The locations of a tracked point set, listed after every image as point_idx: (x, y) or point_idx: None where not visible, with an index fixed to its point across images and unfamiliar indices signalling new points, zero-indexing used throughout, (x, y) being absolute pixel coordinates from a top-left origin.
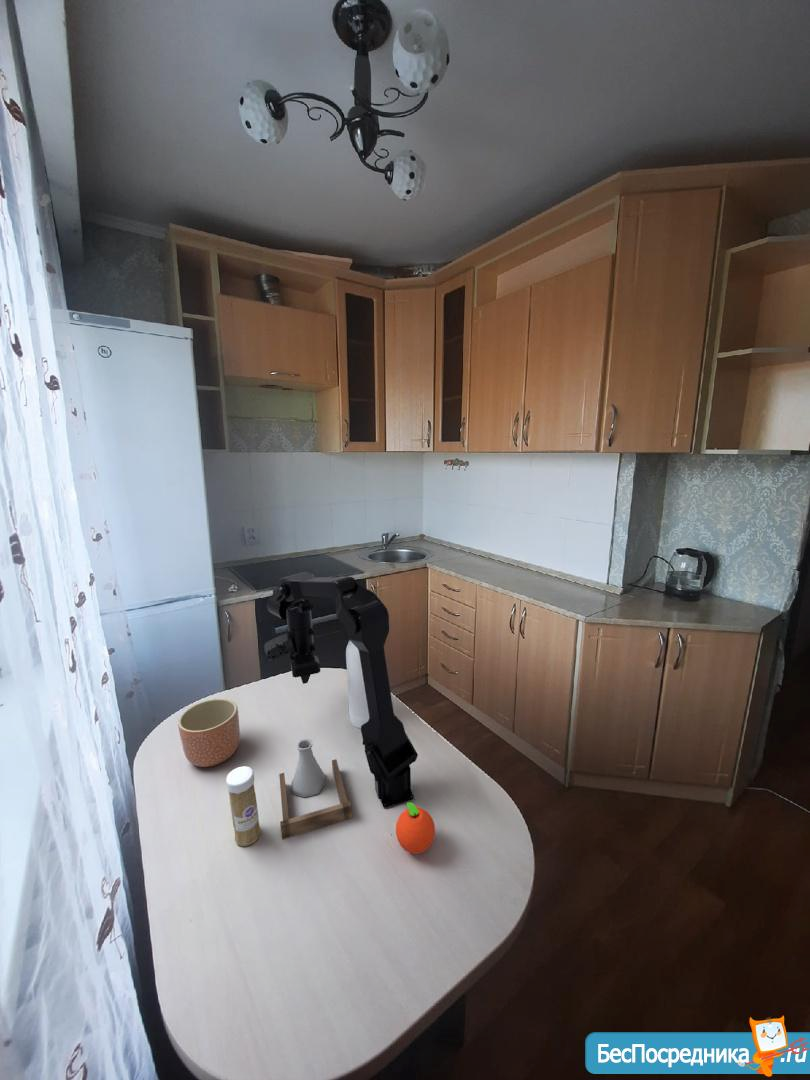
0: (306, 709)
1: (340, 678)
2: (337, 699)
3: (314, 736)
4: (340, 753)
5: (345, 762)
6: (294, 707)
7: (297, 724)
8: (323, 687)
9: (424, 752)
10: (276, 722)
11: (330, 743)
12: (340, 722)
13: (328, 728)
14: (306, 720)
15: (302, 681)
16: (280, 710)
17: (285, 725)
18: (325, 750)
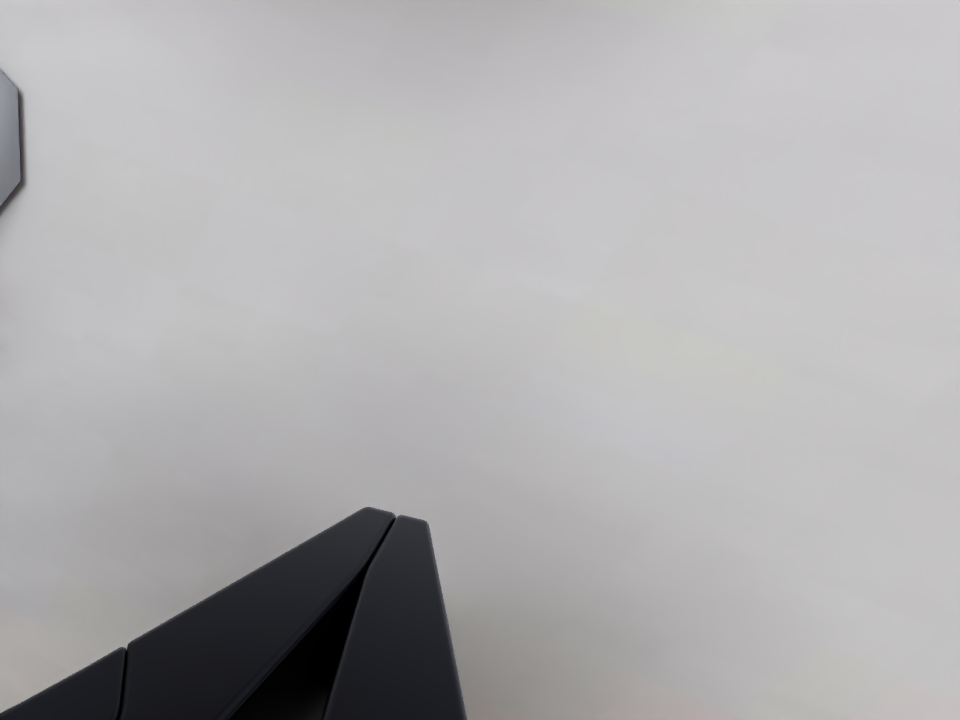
0: (701, 363)
1: (921, 716)
2: (667, 590)
3: (346, 304)
4: (124, 384)
5: (44, 378)
6: (802, 287)
7: (551, 238)
8: (905, 578)
9: (5, 696)
10: (692, 76)
11: (232, 368)
12: (403, 500)
13: (382, 414)
14: (559, 316)
15: (331, 530)
16: (852, 159)
17: (598, 142)
18: (181, 317)
